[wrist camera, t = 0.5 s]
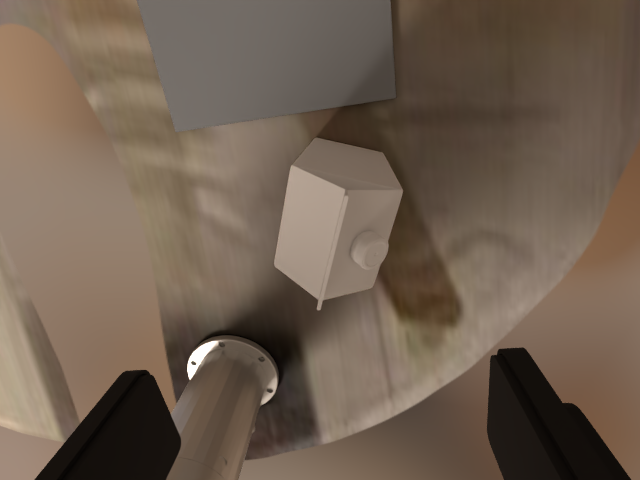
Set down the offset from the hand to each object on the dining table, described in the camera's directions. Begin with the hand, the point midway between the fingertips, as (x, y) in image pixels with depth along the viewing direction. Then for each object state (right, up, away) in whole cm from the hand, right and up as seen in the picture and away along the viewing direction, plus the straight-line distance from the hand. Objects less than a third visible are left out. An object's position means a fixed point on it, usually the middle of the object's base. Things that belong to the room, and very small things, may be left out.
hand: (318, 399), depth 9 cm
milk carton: (+2, +11, +27) cm, 29 cm away
